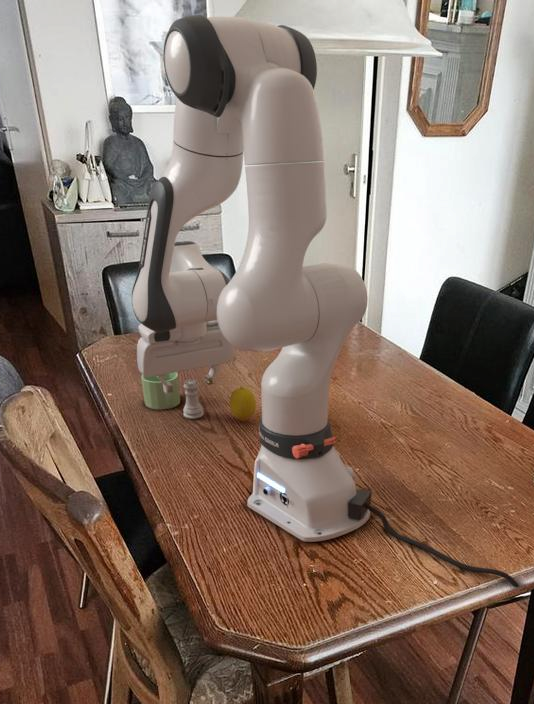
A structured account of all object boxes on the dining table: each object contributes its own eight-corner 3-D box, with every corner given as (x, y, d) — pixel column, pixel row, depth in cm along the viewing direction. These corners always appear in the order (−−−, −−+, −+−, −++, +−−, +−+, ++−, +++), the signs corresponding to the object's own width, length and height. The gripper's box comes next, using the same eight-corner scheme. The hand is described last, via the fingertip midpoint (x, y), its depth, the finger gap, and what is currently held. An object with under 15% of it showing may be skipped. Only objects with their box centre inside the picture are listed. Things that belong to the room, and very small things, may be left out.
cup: (186, 404, 143) (183, 377, 139) (152, 412, 139) (149, 385, 135) (172, 392, 148) (169, 366, 145) (139, 399, 144) (135, 373, 141)
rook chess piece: (193, 421, 135) (190, 387, 131) (179, 415, 138) (175, 381, 133) (208, 415, 139) (205, 381, 134) (194, 409, 141) (191, 375, 137)
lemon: (235, 414, 139) (233, 380, 135) (259, 417, 139) (258, 383, 134) (227, 424, 135) (225, 390, 131) (251, 428, 134) (250, 393, 130)
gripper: (225, 313, 134) (227, 374, 142) (130, 326, 125) (138, 391, 132) (237, 322, 130) (240, 384, 138) (140, 336, 120) (148, 402, 128)
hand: (189, 387), depth 135 cm, fingers open, 8 cm apart
